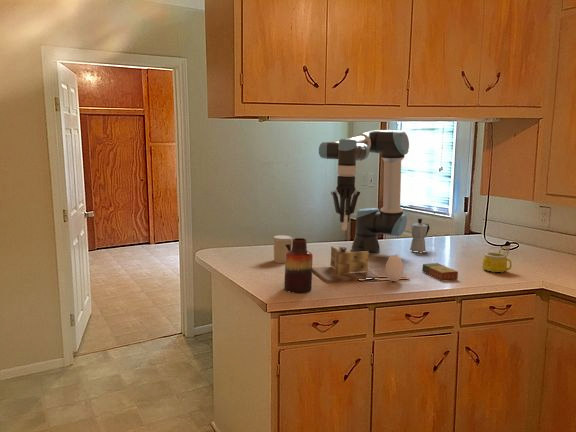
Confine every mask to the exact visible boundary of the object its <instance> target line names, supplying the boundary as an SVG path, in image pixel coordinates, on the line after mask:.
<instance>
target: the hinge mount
mask: <svg viewBox="0 0 576 432" xmlns="http://www.w3.org/2000/svg"><path fill="white" fill-rule="evenodd" d="M330 247H331V248H330V266H319V267H312V273H313V274H315V275H317V276H318V278H320V279H322V280H323V281H324V282H326V283H343V282H346V283H347V282H356V281H355V280H359V279H366V278H379V277H380V276H379V275H376V273H373V272H371V271H370V270H369V255H370V254H369V251H362V252H354V251H349V250H345V252H340V251H341V250H339V249H338V248H336V247H334V246H330Z"/></svg>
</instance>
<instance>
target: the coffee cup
mask: <svg viewBox="0 0 576 432" xmlns="http://www.w3.org/2000/svg"><path fill="white" fill-rule="evenodd" d="M272 240H273V260H274V262H275V263H278V264H285V254H286V253H287V252H288V251H291V250H292V241H293V237H292V236H291V235H283V234H282V235H281V234H278V235H274V236H273V237H272Z"/></svg>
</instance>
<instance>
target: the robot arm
mask: <svg viewBox="0 0 576 432" xmlns="http://www.w3.org/2000/svg"><path fill="white" fill-rule="evenodd" d="M409 149H410V139H409V136H408V135H407V133H406V131H403V130H395V129H393V130H391V129H387V130H386V129H384V130H383V129H381V130H380V129H375V130H369V131H366V132H365V131H364V132H362V133H358V134H357V135H355V136H354V137H349V138H340V139H339V140H335V141H322V142H321V143H320V144H319V146H318V155H319V157H320V158H321V159H324V160H338V161H337V162H338V163H337V175H338V176H337V177H336V179H337V180H336V183H337V186H336V188H335V190H333V191H331V192H330V194H331V196H332V199H333V203H334V208H335V209H334V210H335V213H336V214H338V215H339V222H340V223H341V230H342V231H347V230H348V223H349V222H350V216H351V214H354V213H355V209H356V206H357V201H358V199H359V196H360V194H361V192H360V191H358V190H357V189H356V186H355V185H356V177H355V175H356V168H357V167H356V164H357V163H356V162H357V161H363V160H366V159H367V158H368V157H369V154H370V153H371V154H372V153H373V154H380V158H381V159H382V160H383V194H382V195H383V200H382V202H383V205H382V207H381V208H380V209H379V208H378V207H367V208H360V209H358V210H357V211H356V216H355V233H354V234H355V236H354V239H353V241H352V244H351V252H362V251H369V255H373V254H378V253H381V252H380V251H381V249H380V248H381V247H380V243H379V240H378V234H379V235H387V236H393V237H394V236H395V237H399V236H402V235H403V234H404V232H405V230H406V227H407V223H408V216H407V215H406V214H405V213H404V209H403V208H402V207H401V191H402V190H401V187H402V186H401V185H402V184H401V182H402V160H404V159H405V155H407V154H408V153H409ZM338 195H339V197H338ZM352 195H353V196H352Z"/></svg>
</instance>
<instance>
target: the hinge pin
mask: <svg viewBox="0 0 576 432" xmlns="http://www.w3.org/2000/svg"><path fill="white" fill-rule="evenodd" d="M338 250H341V251H340V252H345V250H347V247H345V246H339V249H338ZM347 251H348V250H347Z"/></svg>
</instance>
